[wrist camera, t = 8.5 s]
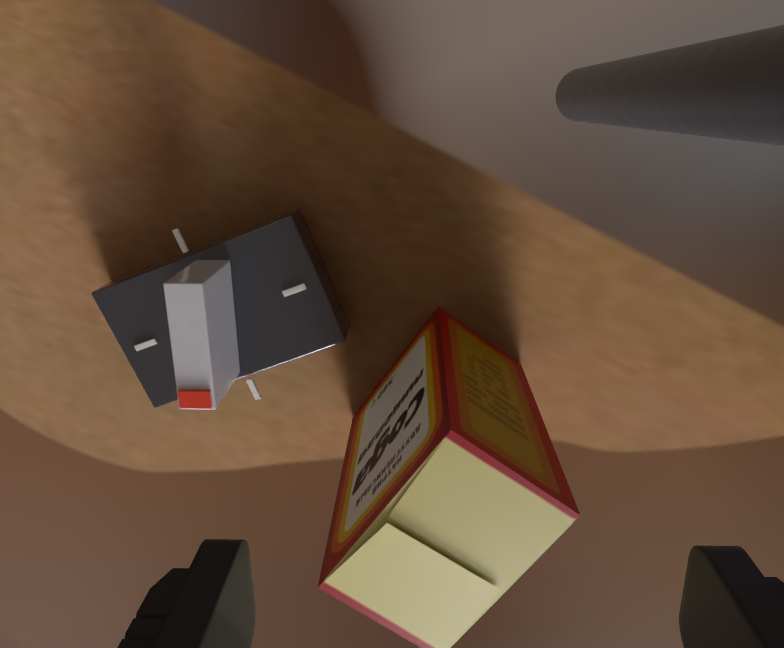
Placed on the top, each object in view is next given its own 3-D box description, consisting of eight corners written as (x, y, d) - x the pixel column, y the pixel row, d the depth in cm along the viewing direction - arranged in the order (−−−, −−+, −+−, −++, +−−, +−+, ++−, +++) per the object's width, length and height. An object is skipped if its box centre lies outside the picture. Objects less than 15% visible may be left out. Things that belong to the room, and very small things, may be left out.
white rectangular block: (195, 259, 36) (160, 284, 31) (230, 259, 36) (200, 284, 31) (207, 372, 39) (176, 411, 34) (240, 372, 38) (214, 412, 34)
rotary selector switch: (288, 182, 37) (279, 188, 35) (360, 349, 40) (356, 365, 38) (97, 258, 39) (75, 269, 37) (180, 411, 42) (165, 431, 40)
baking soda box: (438, 306, 39) (451, 434, 24) (521, 364, 40) (582, 521, 25) (352, 417, 42) (316, 593, 27) (432, 468, 43) (439, 665, 28)
